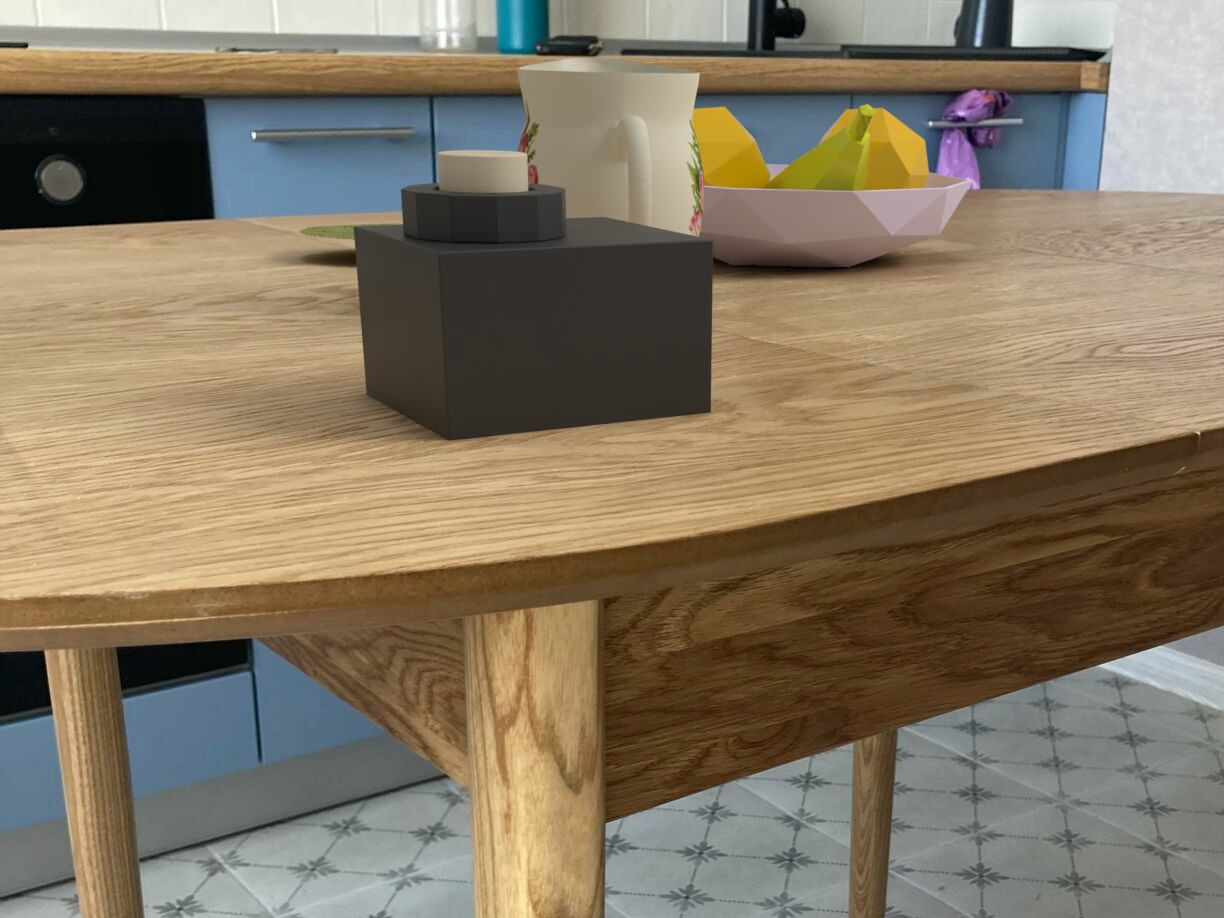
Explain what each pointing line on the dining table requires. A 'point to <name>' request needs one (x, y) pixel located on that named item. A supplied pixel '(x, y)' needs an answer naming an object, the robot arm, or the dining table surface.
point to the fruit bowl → (820, 193)
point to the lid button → (482, 171)
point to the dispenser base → (531, 315)
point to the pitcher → (615, 140)
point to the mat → (335, 231)
